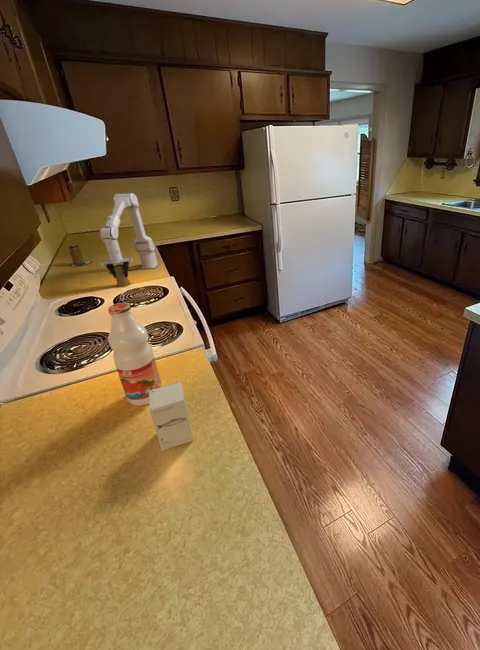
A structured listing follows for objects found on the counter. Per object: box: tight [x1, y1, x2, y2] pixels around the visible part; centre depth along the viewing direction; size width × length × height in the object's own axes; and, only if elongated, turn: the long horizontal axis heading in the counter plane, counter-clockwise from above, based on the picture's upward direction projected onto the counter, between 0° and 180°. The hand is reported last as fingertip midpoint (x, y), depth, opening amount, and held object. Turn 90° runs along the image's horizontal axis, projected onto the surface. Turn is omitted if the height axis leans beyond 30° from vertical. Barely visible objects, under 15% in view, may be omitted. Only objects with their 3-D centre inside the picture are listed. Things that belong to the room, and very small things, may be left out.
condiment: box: [68, 244, 91, 267], centre depth 206 cm, size 7×8×12 cm
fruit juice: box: [107, 301, 163, 407], centre depth 87 cm, size 9×9×28 cm
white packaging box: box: [148, 381, 194, 452], centre depth 76 cm, size 7×7×13 cm
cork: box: [113, 263, 131, 288], centre depth 170 cm, size 6×6×11 cm
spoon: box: [128, 267, 139, 272], centre depth 193 cm, size 15×4×1 cm, turn 107°
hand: (121, 277), depth 170 cm, fingers closed on cork, 5 cm apart
